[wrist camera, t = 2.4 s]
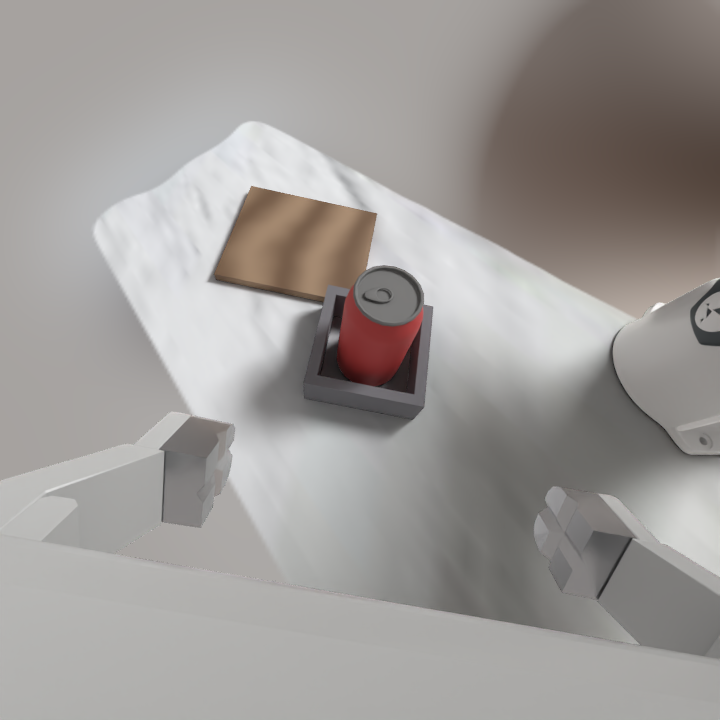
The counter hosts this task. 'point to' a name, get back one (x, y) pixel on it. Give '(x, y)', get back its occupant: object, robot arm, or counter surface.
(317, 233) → the walnut board
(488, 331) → the counter surface
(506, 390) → the counter surface
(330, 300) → the can collar
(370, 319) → the beer can
